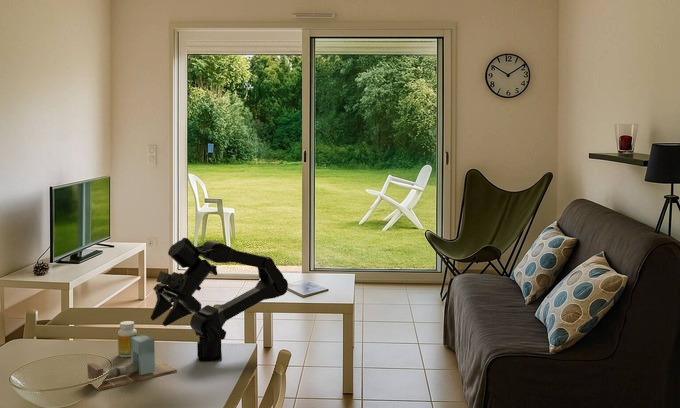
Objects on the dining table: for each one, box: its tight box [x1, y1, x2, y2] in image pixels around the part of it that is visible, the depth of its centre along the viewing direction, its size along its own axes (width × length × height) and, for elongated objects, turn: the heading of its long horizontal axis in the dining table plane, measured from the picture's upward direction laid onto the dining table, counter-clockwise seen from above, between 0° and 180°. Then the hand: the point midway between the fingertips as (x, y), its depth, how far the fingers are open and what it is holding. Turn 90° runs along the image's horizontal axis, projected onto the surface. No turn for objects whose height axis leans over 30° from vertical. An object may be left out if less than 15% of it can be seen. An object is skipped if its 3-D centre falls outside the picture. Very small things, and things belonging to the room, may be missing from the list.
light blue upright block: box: [130, 334, 156, 375], centre depth 185 cm, size 4×6×9 cm, turn 41°
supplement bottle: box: [117, 320, 138, 358], centre depth 201 cm, size 5×5×10 cm
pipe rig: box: [86, 361, 178, 391], centre depth 184 cm, size 22×8×5 cm, turn 131°
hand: (157, 322), depth 188 cm, fingers open, 7 cm apart
